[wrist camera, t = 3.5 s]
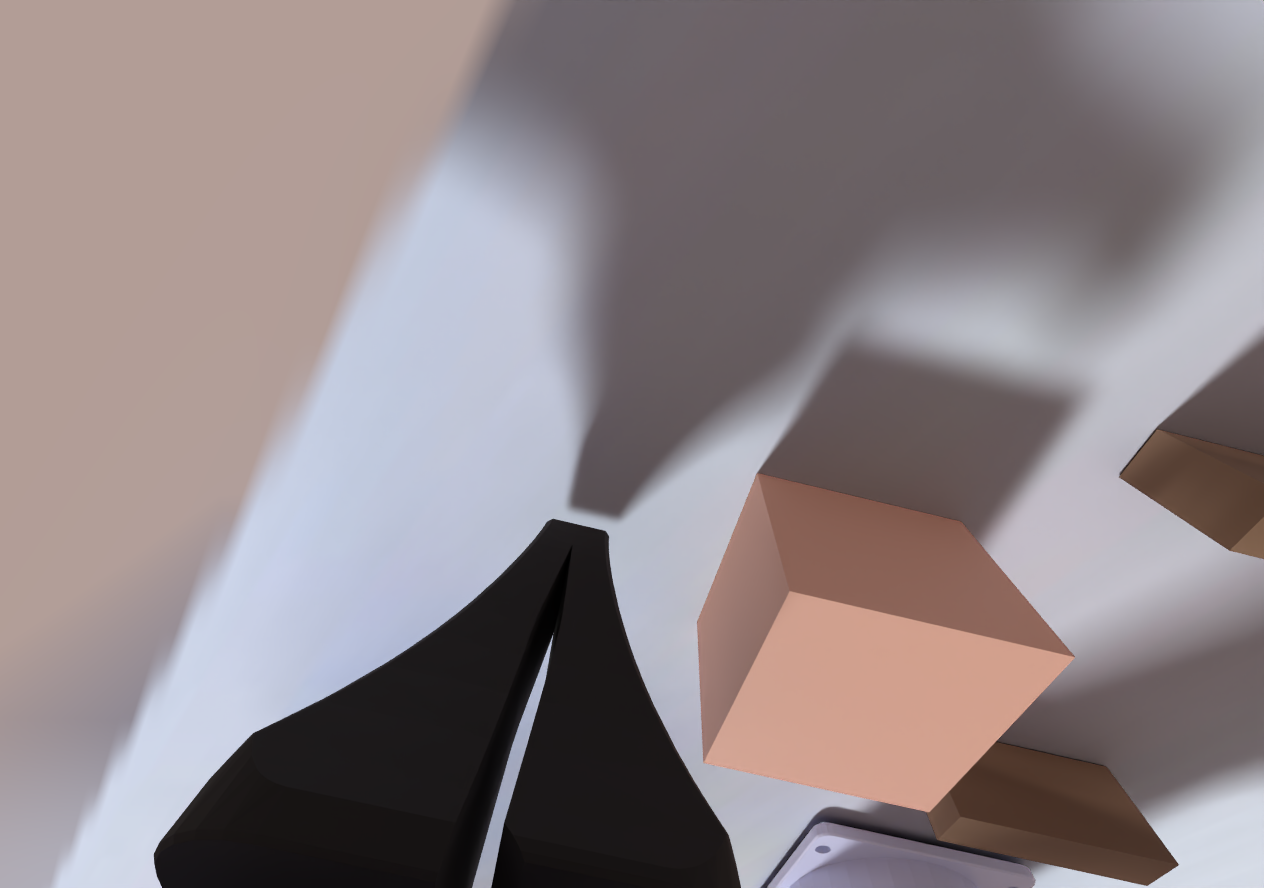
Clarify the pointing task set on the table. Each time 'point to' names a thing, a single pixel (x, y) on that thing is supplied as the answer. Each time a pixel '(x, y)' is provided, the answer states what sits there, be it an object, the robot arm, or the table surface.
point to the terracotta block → (863, 647)
